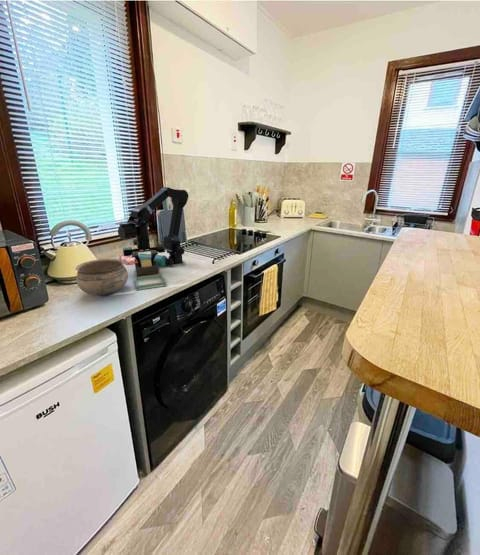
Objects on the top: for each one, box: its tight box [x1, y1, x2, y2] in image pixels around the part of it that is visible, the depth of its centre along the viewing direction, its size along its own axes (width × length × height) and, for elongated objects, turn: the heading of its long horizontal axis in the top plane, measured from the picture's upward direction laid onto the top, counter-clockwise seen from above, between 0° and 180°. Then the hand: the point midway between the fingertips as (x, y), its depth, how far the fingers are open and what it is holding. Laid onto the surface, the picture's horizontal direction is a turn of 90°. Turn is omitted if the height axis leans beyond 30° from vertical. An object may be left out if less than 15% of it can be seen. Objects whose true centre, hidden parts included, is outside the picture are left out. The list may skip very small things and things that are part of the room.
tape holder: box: [134, 260, 160, 277], centre depth 134 cm, size 14×10×5 cm
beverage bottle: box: [138, 253, 174, 268], centre depth 144 cm, size 6×7×20 cm
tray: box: [134, 273, 167, 292], centre depth 122 cm, size 12×11×2 cm
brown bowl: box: [75, 258, 129, 297], centre depth 111 cm, size 25×19×12 cm
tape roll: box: [140, 258, 152, 267], centre depth 133 cm, size 7×5×7 cm, turn 23°
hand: (146, 266), depth 133 cm, fingers closed on tape roll, 4 cm apart
